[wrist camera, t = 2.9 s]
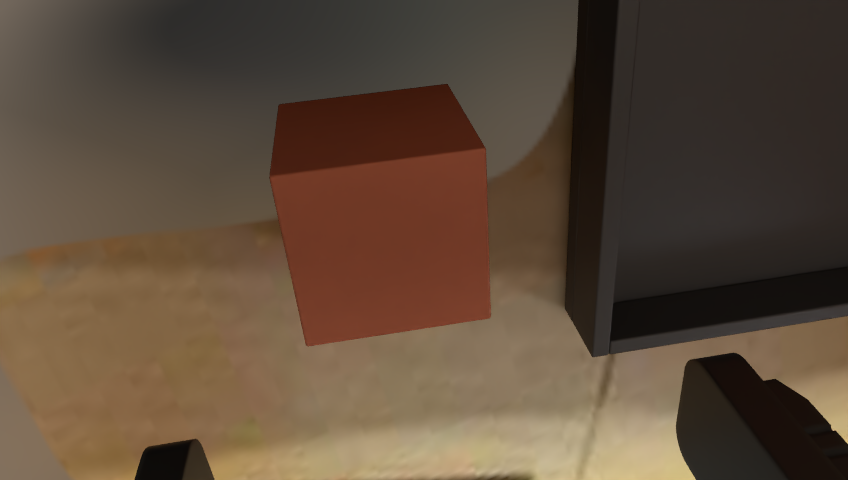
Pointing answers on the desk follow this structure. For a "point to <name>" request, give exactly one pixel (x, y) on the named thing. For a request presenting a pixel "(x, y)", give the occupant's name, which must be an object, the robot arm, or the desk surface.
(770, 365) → the desk surface
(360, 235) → the terracotta block
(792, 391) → the robot arm
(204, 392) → the desk surface
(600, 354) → the charcoal tray
